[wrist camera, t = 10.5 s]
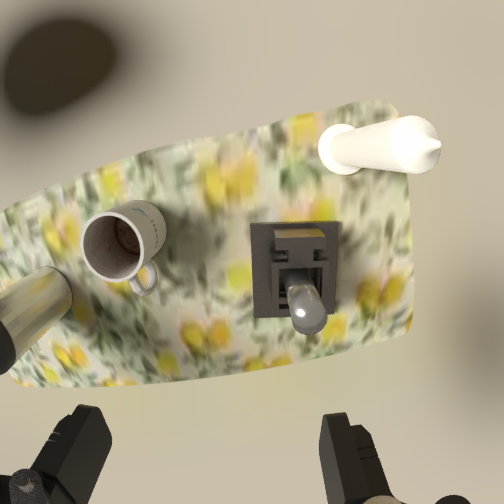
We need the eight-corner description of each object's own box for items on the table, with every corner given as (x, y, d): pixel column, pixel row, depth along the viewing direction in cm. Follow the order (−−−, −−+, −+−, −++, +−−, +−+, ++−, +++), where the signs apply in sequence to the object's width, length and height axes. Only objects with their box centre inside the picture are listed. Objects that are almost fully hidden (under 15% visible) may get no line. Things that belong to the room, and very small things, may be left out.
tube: (281, 260, 45) (292, 304, 31) (307, 259, 45) (328, 302, 31) (282, 286, 46) (292, 337, 32) (307, 285, 46) (326, 335, 32)
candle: (367, 175, 42) (477, 199, 18) (318, 174, 42) (393, 196, 18) (366, 125, 40) (475, 101, 16) (317, 123, 40) (390, 84, 16)
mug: (107, 206, 44) (73, 219, 34) (160, 194, 43) (135, 205, 34) (126, 283, 47) (99, 312, 38) (177, 277, 47) (159, 306, 37)
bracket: (254, 314, 48) (253, 339, 41) (250, 223, 44) (249, 235, 38) (332, 311, 48) (343, 334, 41) (336, 220, 44) (350, 232, 37)
